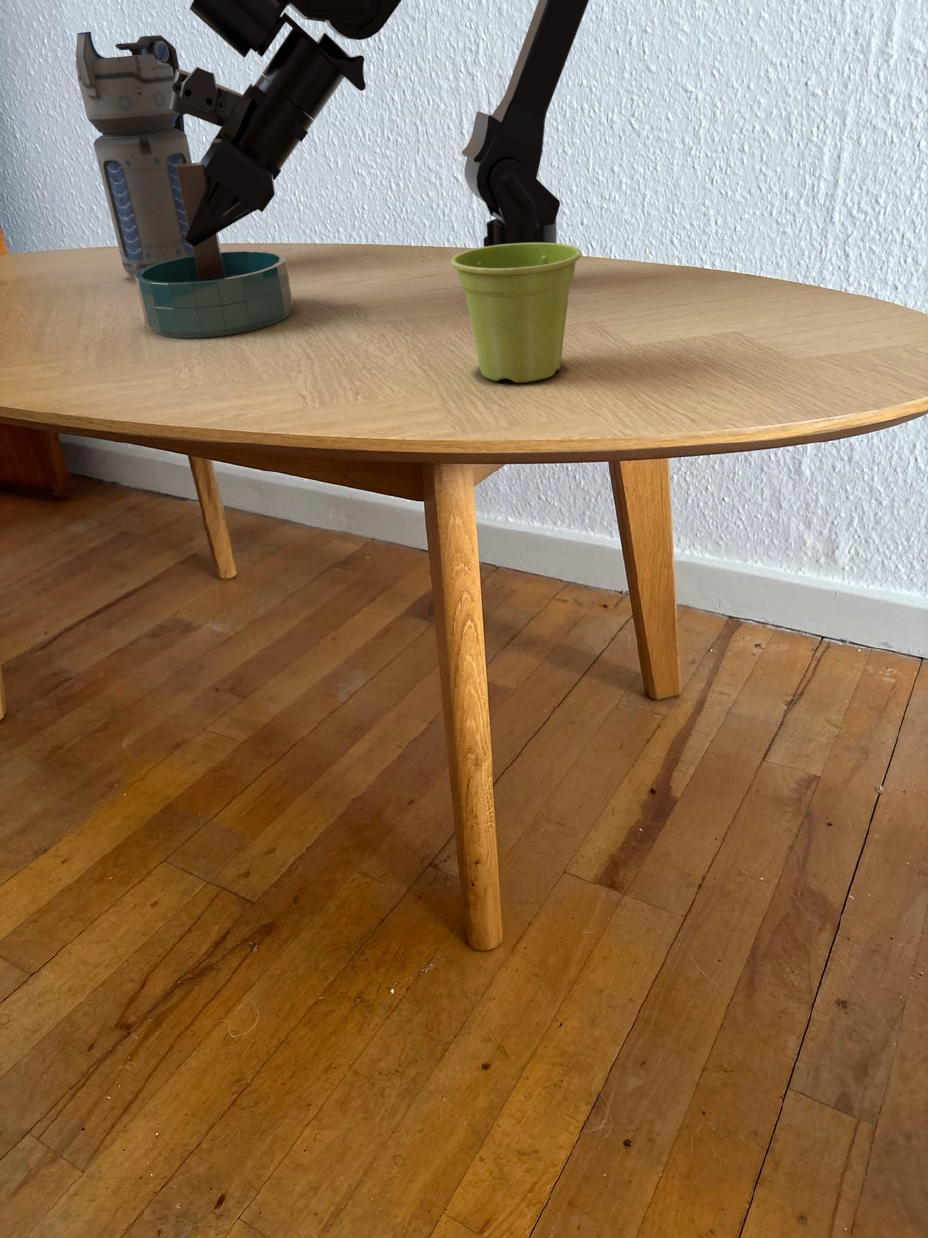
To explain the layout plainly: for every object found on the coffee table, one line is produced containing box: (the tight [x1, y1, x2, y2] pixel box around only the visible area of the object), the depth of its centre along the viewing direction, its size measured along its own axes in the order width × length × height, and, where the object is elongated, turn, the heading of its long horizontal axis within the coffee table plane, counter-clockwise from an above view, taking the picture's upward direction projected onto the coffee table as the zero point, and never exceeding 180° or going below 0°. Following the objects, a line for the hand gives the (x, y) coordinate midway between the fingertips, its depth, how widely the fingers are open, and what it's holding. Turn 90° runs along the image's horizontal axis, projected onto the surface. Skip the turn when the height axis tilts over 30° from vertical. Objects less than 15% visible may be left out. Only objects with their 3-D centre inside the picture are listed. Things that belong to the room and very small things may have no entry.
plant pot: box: [450, 243, 582, 383], centre depth 72 cm, size 9×9×9 cm
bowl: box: [134, 249, 294, 339], centre depth 94 cm, size 14×14×5 cm
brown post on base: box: [176, 161, 227, 281], centre depth 91 cm, size 5×5×13 cm
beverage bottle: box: [75, 31, 194, 279], centre depth 109 cm, size 10×13×25 cm
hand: (190, 240), depth 91 cm, fingers closed on brown post on base, 2 cm apart
